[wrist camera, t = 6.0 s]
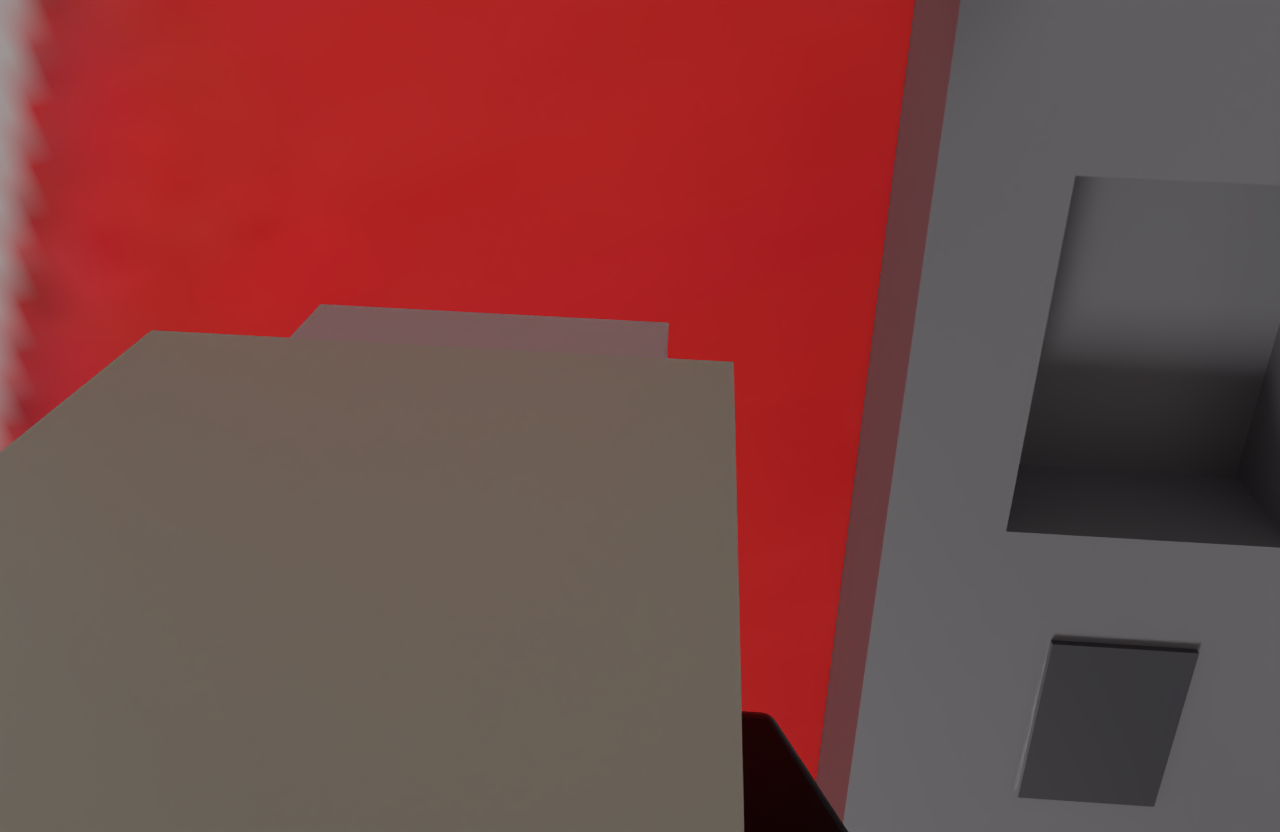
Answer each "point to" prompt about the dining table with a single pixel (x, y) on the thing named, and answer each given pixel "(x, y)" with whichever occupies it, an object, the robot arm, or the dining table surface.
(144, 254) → the dining table surface
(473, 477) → the block
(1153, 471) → the power strip
